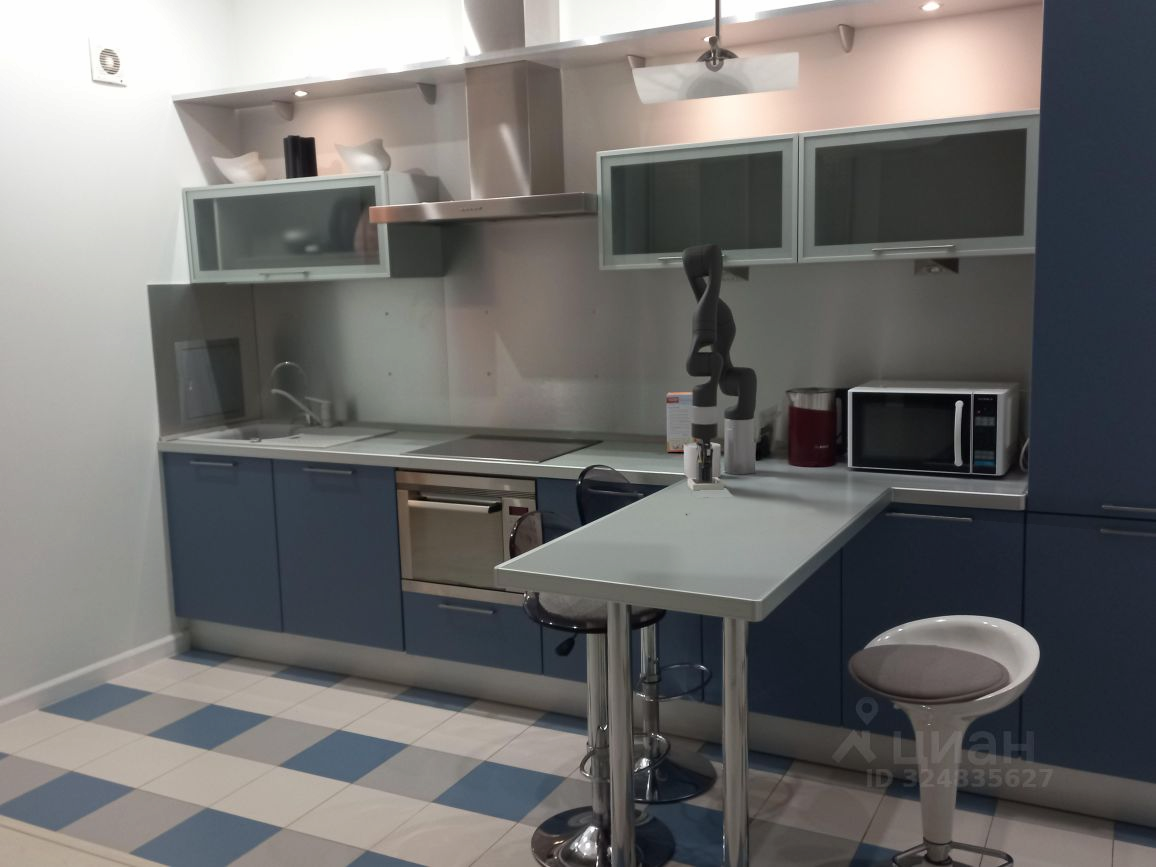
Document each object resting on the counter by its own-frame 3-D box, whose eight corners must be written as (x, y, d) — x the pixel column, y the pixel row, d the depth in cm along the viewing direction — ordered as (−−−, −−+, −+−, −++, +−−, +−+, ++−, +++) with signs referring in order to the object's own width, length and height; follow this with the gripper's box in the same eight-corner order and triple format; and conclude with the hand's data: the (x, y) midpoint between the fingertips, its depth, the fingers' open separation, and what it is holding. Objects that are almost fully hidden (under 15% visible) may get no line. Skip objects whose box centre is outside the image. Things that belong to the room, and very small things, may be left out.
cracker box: (707, 450, 364) (707, 391, 360) (707, 453, 358) (706, 393, 355) (668, 450, 366) (667, 391, 363) (666, 453, 361) (666, 393, 357)
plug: (709, 480, 302) (709, 457, 301) (712, 482, 299) (712, 460, 297) (696, 480, 302) (696, 458, 301) (698, 483, 298) (698, 460, 297)
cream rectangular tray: (722, 486, 306) (722, 476, 306) (735, 500, 288) (735, 489, 288) (685, 487, 306) (685, 478, 305) (696, 501, 288) (696, 491, 287)
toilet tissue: (718, 480, 314) (718, 448, 313) (679, 479, 317) (679, 447, 315) (722, 473, 324) (722, 442, 323) (684, 472, 327) (684, 441, 326)
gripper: (722, 424, 291) (722, 484, 294) (712, 417, 305) (712, 474, 308) (695, 425, 290) (695, 484, 293) (687, 417, 304) (687, 474, 307)
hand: (704, 479), depth 300 cm, fingers closed on plug, 4 cm apart
